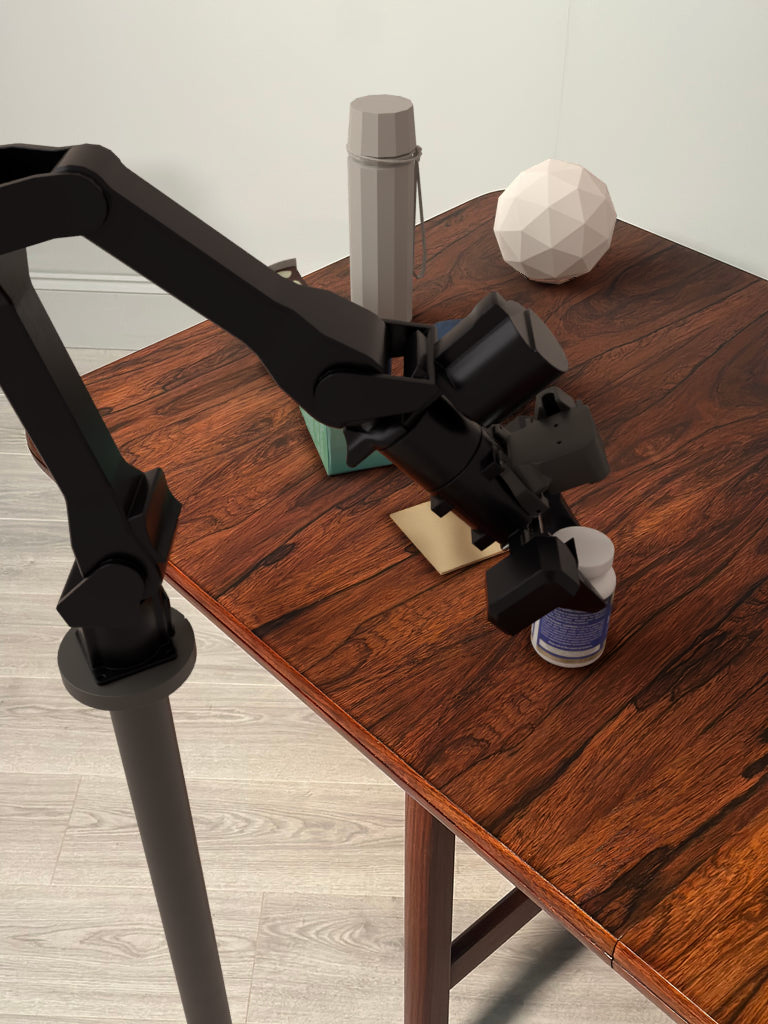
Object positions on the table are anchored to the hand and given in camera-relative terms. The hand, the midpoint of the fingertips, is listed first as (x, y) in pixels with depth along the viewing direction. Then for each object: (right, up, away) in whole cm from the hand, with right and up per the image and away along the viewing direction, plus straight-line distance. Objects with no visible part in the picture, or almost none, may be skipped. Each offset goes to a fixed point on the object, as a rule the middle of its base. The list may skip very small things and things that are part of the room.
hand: (595, 580), depth 77 cm
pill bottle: (-1, -5, +4) cm, 7 cm away
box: (-19, +13, +27) cm, 36 cm away
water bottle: (-15, +27, +46) cm, 55 cm away
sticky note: (-9, +4, +15) cm, 18 cm away
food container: (-26, +21, +38) cm, 50 cm away
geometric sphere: (+5, +35, +55) cm, 66 cm away
